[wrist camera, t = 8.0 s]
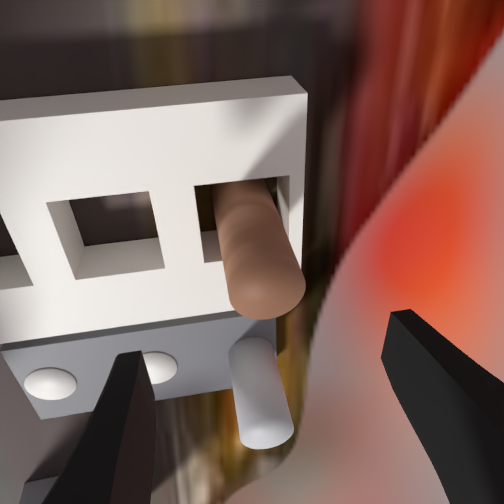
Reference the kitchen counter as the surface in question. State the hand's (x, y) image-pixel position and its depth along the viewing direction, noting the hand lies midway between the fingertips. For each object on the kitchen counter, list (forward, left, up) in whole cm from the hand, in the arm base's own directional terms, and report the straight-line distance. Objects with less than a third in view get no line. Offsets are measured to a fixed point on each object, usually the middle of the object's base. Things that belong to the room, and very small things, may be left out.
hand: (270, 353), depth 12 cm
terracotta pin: (0, 0, -9) cm, 9 cm away
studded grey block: (-5, -9, -9) cm, 14 cm away
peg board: (-5, 0, -9) cm, 11 cm away
